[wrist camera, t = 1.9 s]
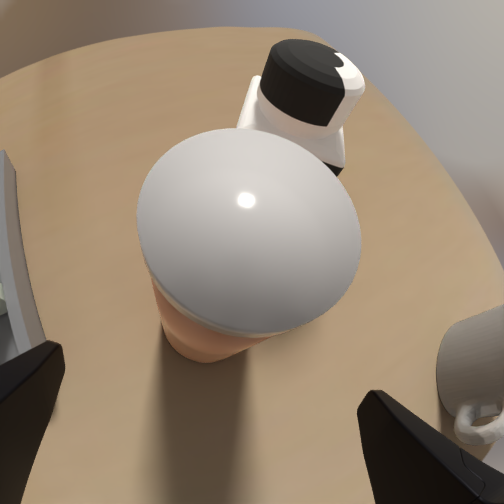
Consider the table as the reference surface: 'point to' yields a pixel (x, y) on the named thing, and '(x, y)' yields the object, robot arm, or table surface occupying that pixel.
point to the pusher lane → (15, 275)
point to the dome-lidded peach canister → (243, 240)
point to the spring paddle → (2, 301)
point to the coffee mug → (474, 375)
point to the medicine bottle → (305, 98)
